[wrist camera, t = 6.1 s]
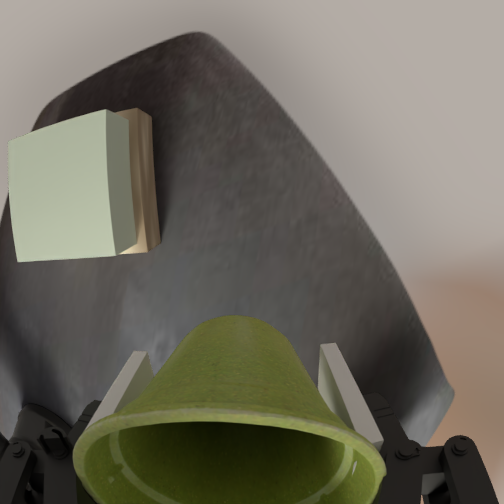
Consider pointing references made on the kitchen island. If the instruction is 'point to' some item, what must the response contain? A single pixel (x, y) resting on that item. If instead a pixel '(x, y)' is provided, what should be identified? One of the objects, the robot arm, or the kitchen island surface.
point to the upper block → (72, 189)
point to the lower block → (142, 181)
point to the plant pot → (228, 430)
